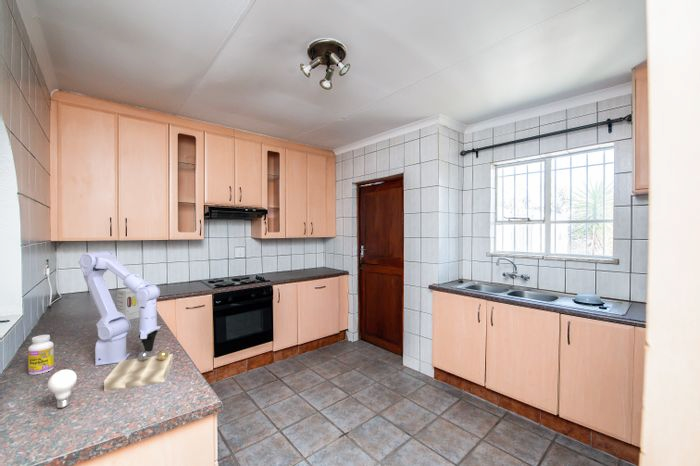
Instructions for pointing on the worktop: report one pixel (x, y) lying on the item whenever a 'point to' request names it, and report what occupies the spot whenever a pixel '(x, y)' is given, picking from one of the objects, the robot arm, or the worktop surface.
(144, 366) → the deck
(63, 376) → the lightbulb
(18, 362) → the worktop surface
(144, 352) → the steel ball
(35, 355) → the supplement bottle
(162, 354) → the brass ball
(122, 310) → the supplement box
